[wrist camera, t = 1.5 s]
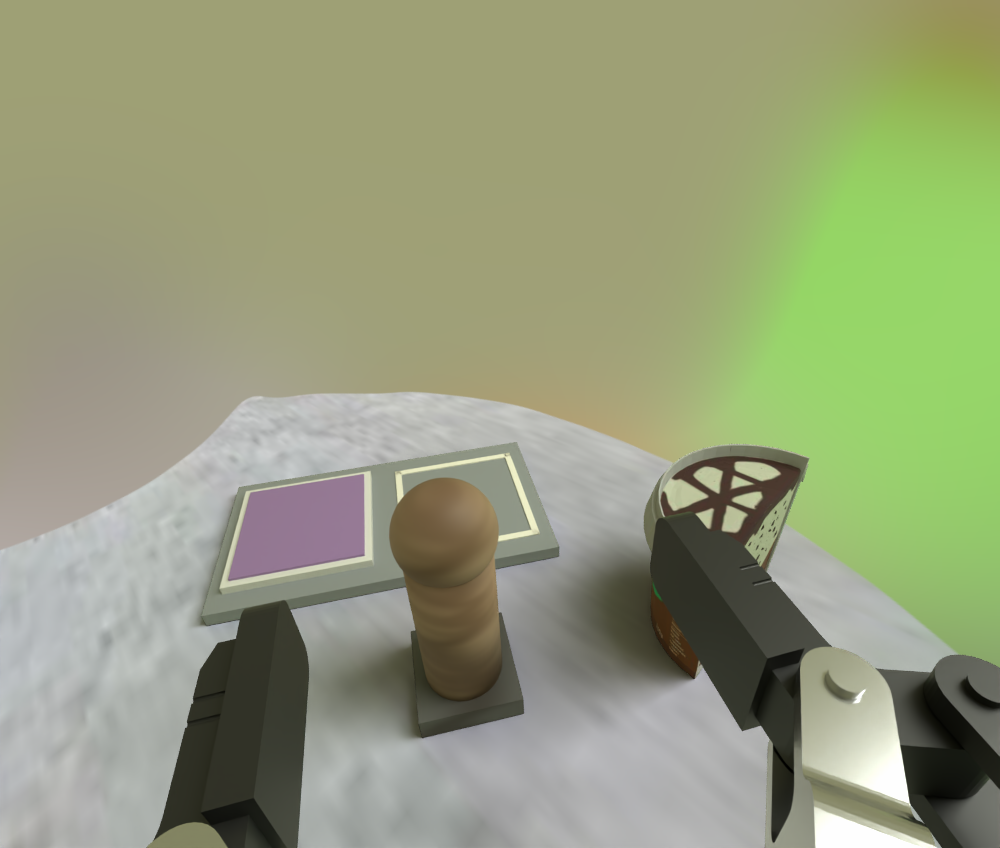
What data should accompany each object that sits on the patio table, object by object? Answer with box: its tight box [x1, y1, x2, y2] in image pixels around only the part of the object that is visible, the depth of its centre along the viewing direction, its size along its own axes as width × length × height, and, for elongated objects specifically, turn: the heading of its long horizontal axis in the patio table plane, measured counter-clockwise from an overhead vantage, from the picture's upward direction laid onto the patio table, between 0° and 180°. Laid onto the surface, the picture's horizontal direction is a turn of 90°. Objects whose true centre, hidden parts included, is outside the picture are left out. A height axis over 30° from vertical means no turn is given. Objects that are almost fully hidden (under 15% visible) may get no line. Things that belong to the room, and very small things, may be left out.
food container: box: [644, 444, 809, 679], centre depth 33 cm, size 12×6×10 cm, turn 136°
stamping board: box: [201, 442, 559, 626], centre depth 42 cm, size 24×13×2 cm, turn 102°
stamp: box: [389, 477, 524, 738], centre depth 27 cm, size 6×6×14 cm
